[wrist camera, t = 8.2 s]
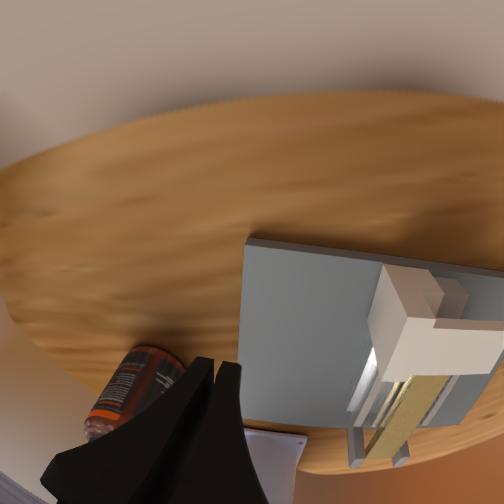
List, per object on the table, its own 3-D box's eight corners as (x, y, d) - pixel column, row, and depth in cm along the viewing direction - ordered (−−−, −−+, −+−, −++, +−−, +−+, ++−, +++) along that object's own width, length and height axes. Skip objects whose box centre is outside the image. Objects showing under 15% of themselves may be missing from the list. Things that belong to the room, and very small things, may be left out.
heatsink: (423, 397, 21) (431, 425, 18) (345, 396, 22) (347, 426, 19) (458, 331, 18) (473, 358, 16) (371, 325, 19) (379, 356, 16)
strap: (391, 449, 20) (392, 457, 19) (364, 450, 20) (365, 458, 19) (468, 322, 14) (473, 330, 14) (434, 320, 15) (438, 329, 14)
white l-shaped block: (457, 327, 18) (485, 379, 13) (366, 320, 19) (380, 381, 14) (478, 276, 16) (516, 323, 11) (383, 263, 17) (407, 316, 12)
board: (455, 415, 23) (469, 460, 18) (236, 406, 26) (223, 459, 20) (531, 275, 17) (571, 316, 12) (247, 237, 19) (226, 284, 14)
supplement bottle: (117, 359, 26) (56, 453, 16) (149, 330, 24) (78, 442, 13) (167, 399, 27) (123, 497, 17) (205, 376, 25) (161, 493, 14)
